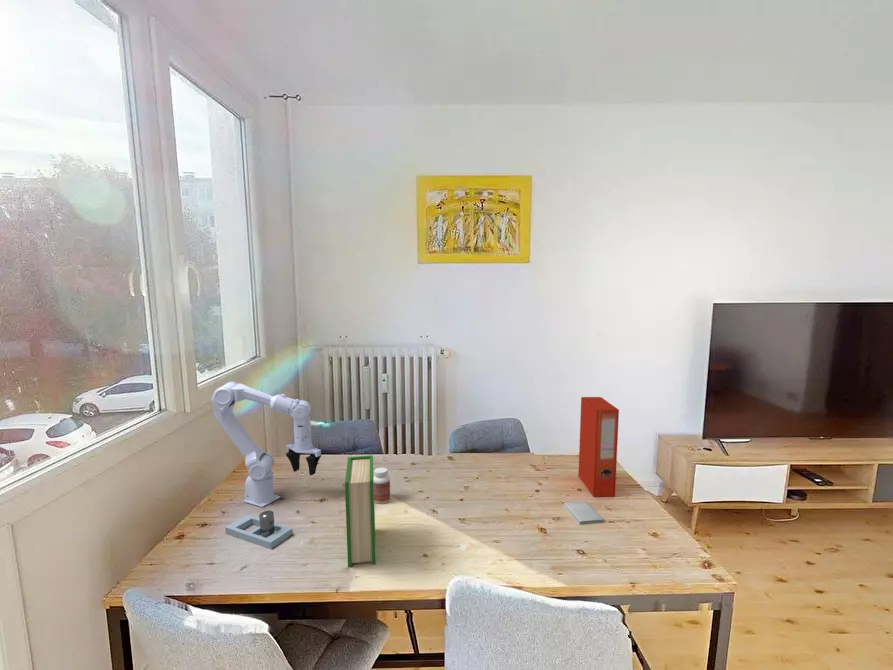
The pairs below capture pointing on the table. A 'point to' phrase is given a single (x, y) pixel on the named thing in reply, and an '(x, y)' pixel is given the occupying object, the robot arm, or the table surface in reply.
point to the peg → (267, 523)
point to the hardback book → (360, 510)
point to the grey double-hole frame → (258, 532)
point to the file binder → (598, 446)
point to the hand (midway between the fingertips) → (304, 472)
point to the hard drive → (583, 512)
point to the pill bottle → (381, 486)
